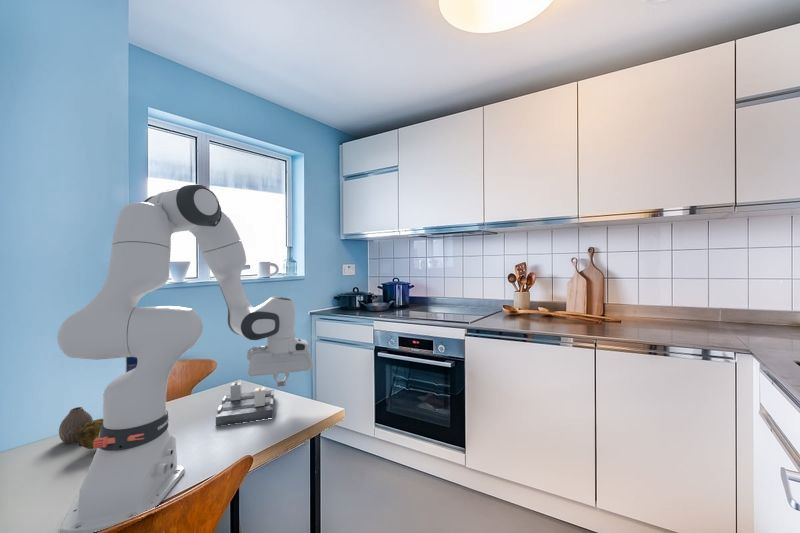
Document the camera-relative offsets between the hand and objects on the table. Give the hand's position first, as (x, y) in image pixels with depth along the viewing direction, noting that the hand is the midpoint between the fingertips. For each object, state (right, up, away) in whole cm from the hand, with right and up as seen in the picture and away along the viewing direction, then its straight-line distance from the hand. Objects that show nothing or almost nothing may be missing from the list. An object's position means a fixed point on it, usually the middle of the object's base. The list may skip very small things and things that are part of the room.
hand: (281, 385), depth 113 cm
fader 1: (-16, -5, +2) cm, 17 cm away
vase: (-50, -8, -20) cm, 54 cm away
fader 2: (-6, -5, -3) cm, 8 cm away
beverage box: (-43, -8, -6) cm, 44 cm away
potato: (-38, -8, -23) cm, 45 cm away
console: (-11, -8, -1) cm, 14 cm away
